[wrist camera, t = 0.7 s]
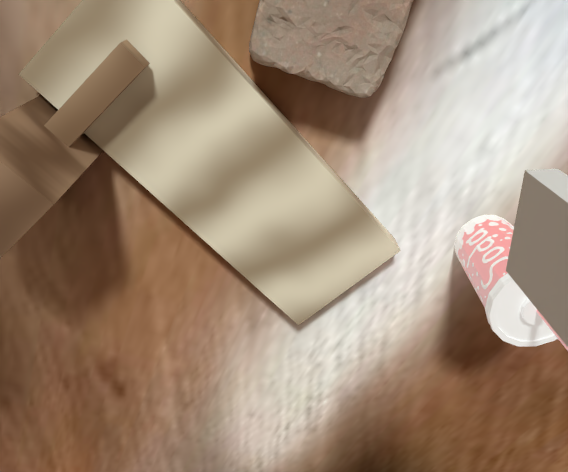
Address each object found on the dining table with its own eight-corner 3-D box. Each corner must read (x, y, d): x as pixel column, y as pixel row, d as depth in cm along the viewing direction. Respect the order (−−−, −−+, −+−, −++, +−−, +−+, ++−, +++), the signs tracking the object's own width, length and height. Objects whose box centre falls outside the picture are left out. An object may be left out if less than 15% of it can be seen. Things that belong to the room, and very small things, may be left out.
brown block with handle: (-6, 150, 35) (-99, 211, 26) (116, 14, 31) (57, 30, 22) (54, 200, 37) (-13, 271, 28) (176, 76, 33) (143, 113, 24)
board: (32, 69, 32) (18, 74, 31) (134, -50, 30) (126, -52, 28) (297, 310, 42) (298, 325, 40) (394, 238, 39) (400, 250, 37)
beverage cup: (505, 190, 38) (625, 297, 25) (534, 250, 40) (655, 374, 28) (431, 231, 39) (509, 351, 26) (462, 286, 41) (547, 420, 29)
